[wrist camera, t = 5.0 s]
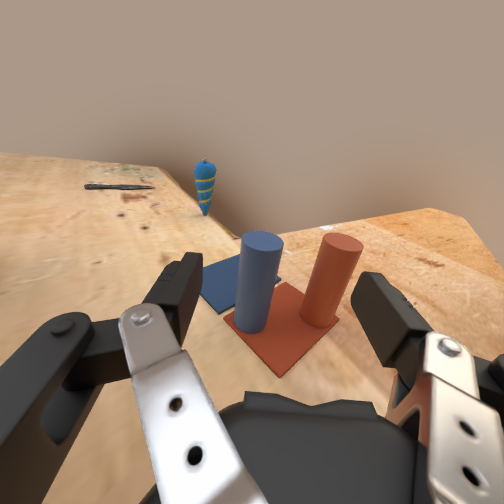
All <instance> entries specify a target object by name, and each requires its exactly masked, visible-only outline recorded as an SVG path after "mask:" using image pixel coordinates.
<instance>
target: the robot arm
mask: <svg viewBox="0 0 504 504" xmlns="http://www.w3.org/2000/svg"><path fill="white" fill-rule="evenodd" d="M202 283H203V255H202V253H194V252H186V253H185V255H184V257H183V258H182V260H181V261H173V262H171V263H170V264H168V265H167V266H166V267H165V268H164V270H163V271H162V273H161V275H160V276H159V277H158V279H157V281H156V282H155V284H154V285H153V287H152V288H151V290H150V291H149V293H148V294H147V296H146V297H145V299H144V300H143V302H142V303H141V304H139V305H135V306H133V307H131V308H129V309H128V310H126V311H125V312H124V313H123V314H122V315H121V317H120V318H116V319H111V320H104V321H97V322H91V320H90V317H89V316H88V315H87V314H85V313H81V312H71V313H66V314H62V315H59V316H57V317H54V318H52V319H50V320H49V321H47V322H46V323H44V324H43V325H42V326H41V327H39V328H38V329H37V330H36V331H35V332H34V333H33V334H32V335H31V336H30V337H29V338H28V339H27V340H26V341H25V342H24V343H23V344H22V345H21V346H20V347H19V348H18V349H17V350H16V351H15V352H14V353H13V354H12V355H11V356H10V357H9V359H8V360H7V361H6V362H5V363H4V364H3V365H2V366H1V367H0V504H41V503H42V501H43V500H44V498H45V496H46V494H47V492H48V490H49V488H50V486H51V484H52V483H53V481H54V479H55V477H56V475H57V473H58V471H59V469H60V467H61V466H62V464H63V462H64V460H65V458H66V456H67V454H68V452H69V450H70V449H71V447H72V445H73V443H74V441H75V439H76V437H77V435H78V433H79V432H80V430H81V428H82V426H83V424H84V422H85V420H86V418H87V416H88V415H89V413H90V411H91V409H92V407H93V405H94V403H95V401H96V399H97V398H98V396H99V394H100V392H101V390H102V388H103V386H104V384H106V383H110V382H115V381H119V380H123V379H127V378H131V382H132V386H133V390H134V394H135V398H136V402H137V406H138V410H139V414H140V418H141V423H142V427H143V431H144V435H145V439H146V443H147V447H148V451H149V455H150V459H151V463H152V467H153V471H154V476H155V480H156V484H155V485H154V486H153V487H152V488H151V490H150V491H149V492H148V493H147V494H146V496H145V497H144V498H143V499H142V500H141V502H140V503H139V504H504V354H501V355H499V356H498V357H497V358H496V359H495V360H493V361H492V362H491V361H488V360H485V359H482V358H479V357H476V356H473V355H472V354H471V353H470V351H469V350H468V349H467V348H466V347H465V346H464V345H463V344H461V343H460V342H459V341H457V340H456V339H454V338H452V337H451V336H449V335H446V334H444V333H441V332H435V331H434V330H433V329H432V328H431V327H430V325H429V324H428V323H427V322H426V321H425V320H424V318H423V317H422V316H421V315H420V314H419V313H418V311H417V310H416V309H415V308H413V306H412V304H411V303H410V302H409V301H407V299H406V297H405V296H404V295H403V294H402V293H401V292H400V291H399V290H398V289H396V288H395V287H394V286H392V285H391V284H390V283H389V282H388V281H387V280H386V278H385V277H384V276H383V275H382V274H381V273H375V272H366V271H364V272H362V273H361V275H360V277H359V279H358V281H357V284H356V286H355V288H354V290H353V293H352V295H351V306H352V308H353V310H354V312H355V314H356V316H357V318H358V320H359V322H360V324H361V326H362V328H363V329H364V331H365V333H366V335H367V337H368V339H369V341H370V343H371V345H372V347H373V349H374V351H375V353H376V355H377V357H378V358H379V360H380V362H381V364H382V366H383V367H388V368H396V369H397V371H398V372H397V374H396V375H395V376H394V380H393V385H392V390H391V394H390V399H389V404H388V409H387V413H386V416H385V418H384V417H382V416H380V415H377V413H376V411H375V408H374V406H373V403H372V402H366V401H355V400H343V399H341V400H336V401H332V402H328V403H324V404H319V405H315V406H309V405H306V404H303V403H300V402H298V401H295V400H292V399H289V398H287V397H284V396H281V395H279V394H273V393H261V392H250V391H245V394H244V400H243V401H242V402H238V403H235V404H232V405H230V406H228V407H226V408H224V409H222V410H221V411H219V412H217V410H216V408H215V406H214V404H213V402H212V400H211V398H210V396H209V394H208V392H207V390H206V388H205V386H204V384H203V382H202V380H201V378H200V376H199V374H198V372H197V370H196V368H195V366H194V363H193V361H192V359H191V357H190V356H189V354H188V352H187V351H186V350H185V349H184V350H182V349H181V348H182V345H183V342H184V339H185V336H186V333H187V330H188V327H189V324H190V321H191V319H192V316H193V313H194V310H195V307H196V304H197V301H198V298H199V295H200V292H201V289H202Z"/></svg>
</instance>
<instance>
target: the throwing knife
mask: <svg viewBox="0 0 504 504" xmlns="http://www.w3.org/2000/svg"><path fill="white" fill-rule="evenodd" d="M89 186H92V187H89ZM84 187H85V189H100V188H114V189H140V188H154V187H153V186H141V185H97V184H86V185H84Z"/></svg>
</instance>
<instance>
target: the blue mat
mask: <svg viewBox="0 0 504 504" xmlns="http://www.w3.org/2000/svg"><path fill="white" fill-rule="evenodd" d="M239 260H240V254H239V255H236V256H233V257H231V258H228V259H225V260H222V261H220V262H217V263H214V264H211V265H209V266H206V267H203V283H202V289H201V292H200V295H201V296H202V297H203V298H204V299H205V300H206V301H207V302H208V303H209V304H210V305H211V306H212V307H213V309H214V310H215V311H216V312H217V313H218V314H220V313H222V312H224V311H226V310H228V309H229V308H231V307H233V306H235V299H236V289H237V280H238V270H239ZM279 281H281V278H280V277H278V276H277V278H276V282H275V283H277V282H279Z"/></svg>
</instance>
